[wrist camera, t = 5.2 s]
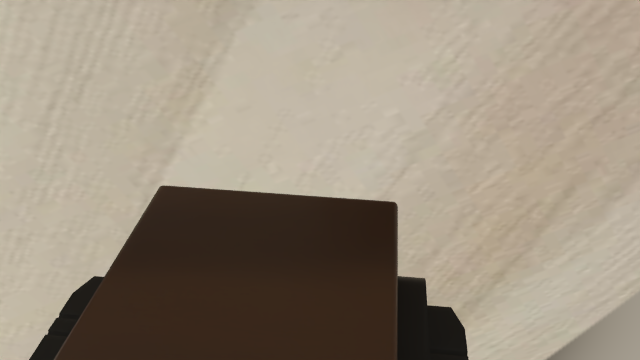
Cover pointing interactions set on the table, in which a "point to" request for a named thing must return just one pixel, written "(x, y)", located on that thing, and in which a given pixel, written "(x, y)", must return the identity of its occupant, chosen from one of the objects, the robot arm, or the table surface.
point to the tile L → (247, 281)
